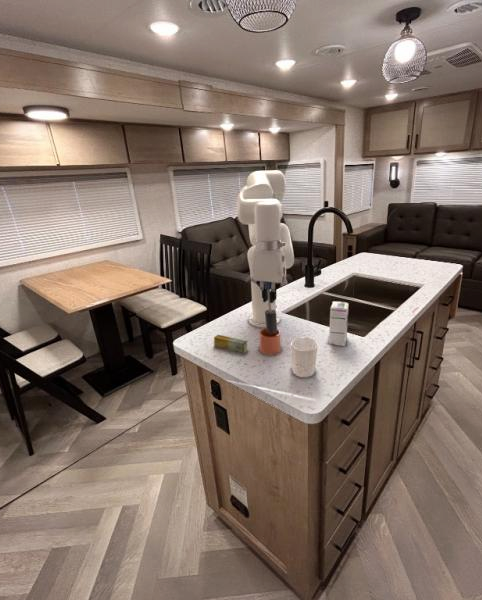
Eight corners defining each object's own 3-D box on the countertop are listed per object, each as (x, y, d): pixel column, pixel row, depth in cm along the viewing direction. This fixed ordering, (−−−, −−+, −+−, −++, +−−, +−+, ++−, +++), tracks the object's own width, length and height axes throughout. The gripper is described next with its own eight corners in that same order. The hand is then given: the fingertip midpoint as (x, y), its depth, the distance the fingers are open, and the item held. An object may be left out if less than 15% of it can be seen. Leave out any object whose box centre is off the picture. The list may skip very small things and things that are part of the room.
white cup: (314, 363, 103) (315, 336, 99) (318, 379, 95) (319, 350, 91) (289, 364, 102) (289, 337, 99) (292, 379, 95) (292, 351, 91)
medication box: (247, 351, 110) (247, 340, 109) (243, 354, 108) (244, 344, 107) (217, 344, 115) (217, 333, 113) (213, 347, 112) (213, 336, 111)
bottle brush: (268, 328, 108) (263, 268, 101) (278, 329, 107) (274, 268, 100) (264, 332, 105) (259, 271, 98) (275, 334, 104) (270, 272, 97)
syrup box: (345, 346, 112) (348, 308, 106) (328, 344, 114) (330, 307, 108) (346, 338, 117) (349, 302, 111) (330, 336, 119) (332, 300, 113)
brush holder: (264, 343, 115) (263, 325, 112) (283, 346, 113) (283, 328, 110) (256, 353, 109) (256, 335, 106) (276, 357, 106) (276, 338, 104)
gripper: (296, 243, 97) (296, 299, 104) (249, 240, 102) (251, 294, 109) (289, 249, 90) (289, 308, 98) (238, 246, 96) (242, 302, 103)
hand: (269, 300), depth 103 cm, fingers closed on bottle brush
